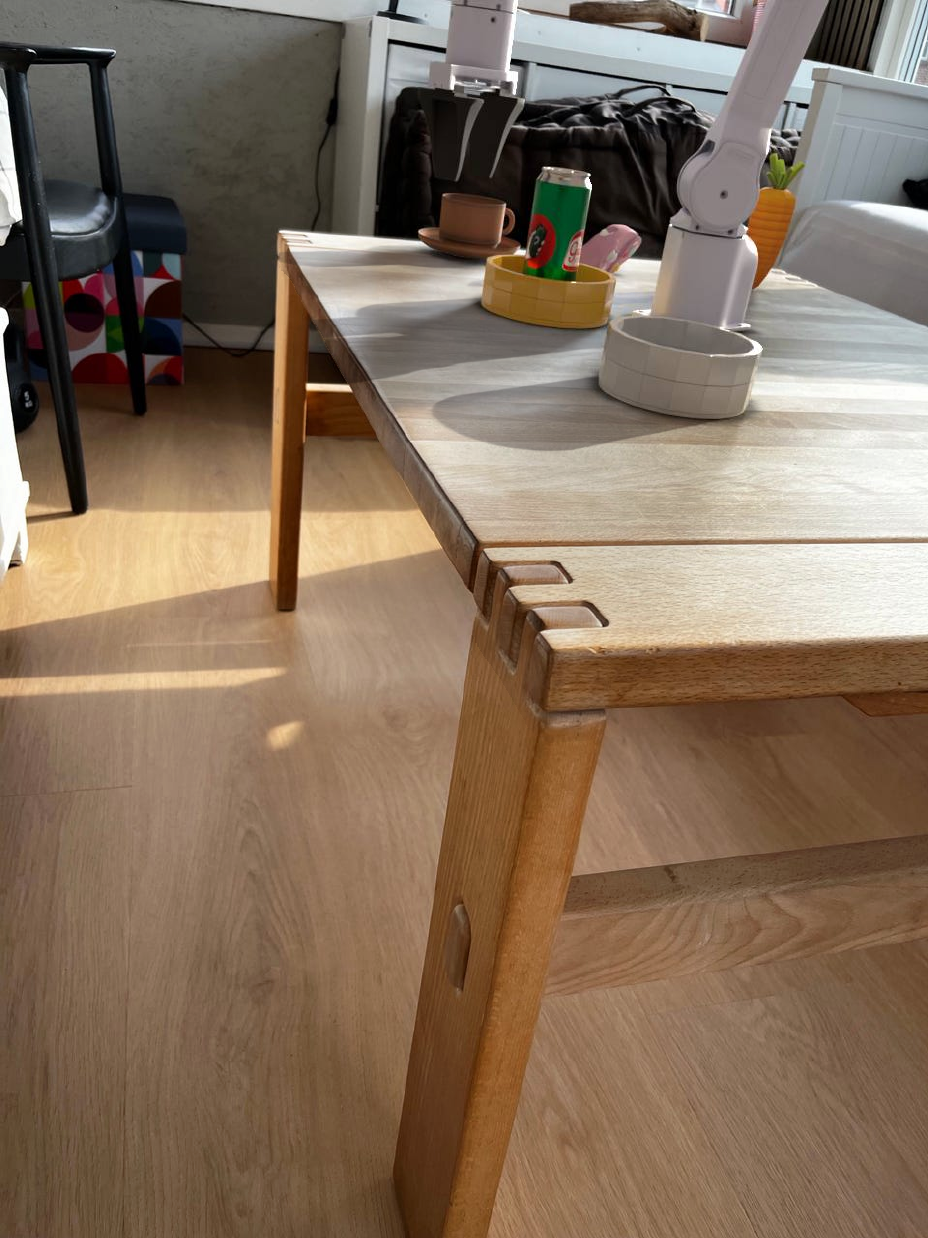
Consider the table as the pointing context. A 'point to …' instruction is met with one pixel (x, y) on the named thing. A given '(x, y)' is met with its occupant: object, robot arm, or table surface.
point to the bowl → (547, 295)
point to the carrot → (772, 216)
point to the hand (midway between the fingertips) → (464, 177)
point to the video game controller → (610, 248)
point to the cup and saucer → (471, 228)
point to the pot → (678, 366)
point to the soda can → (557, 224)
